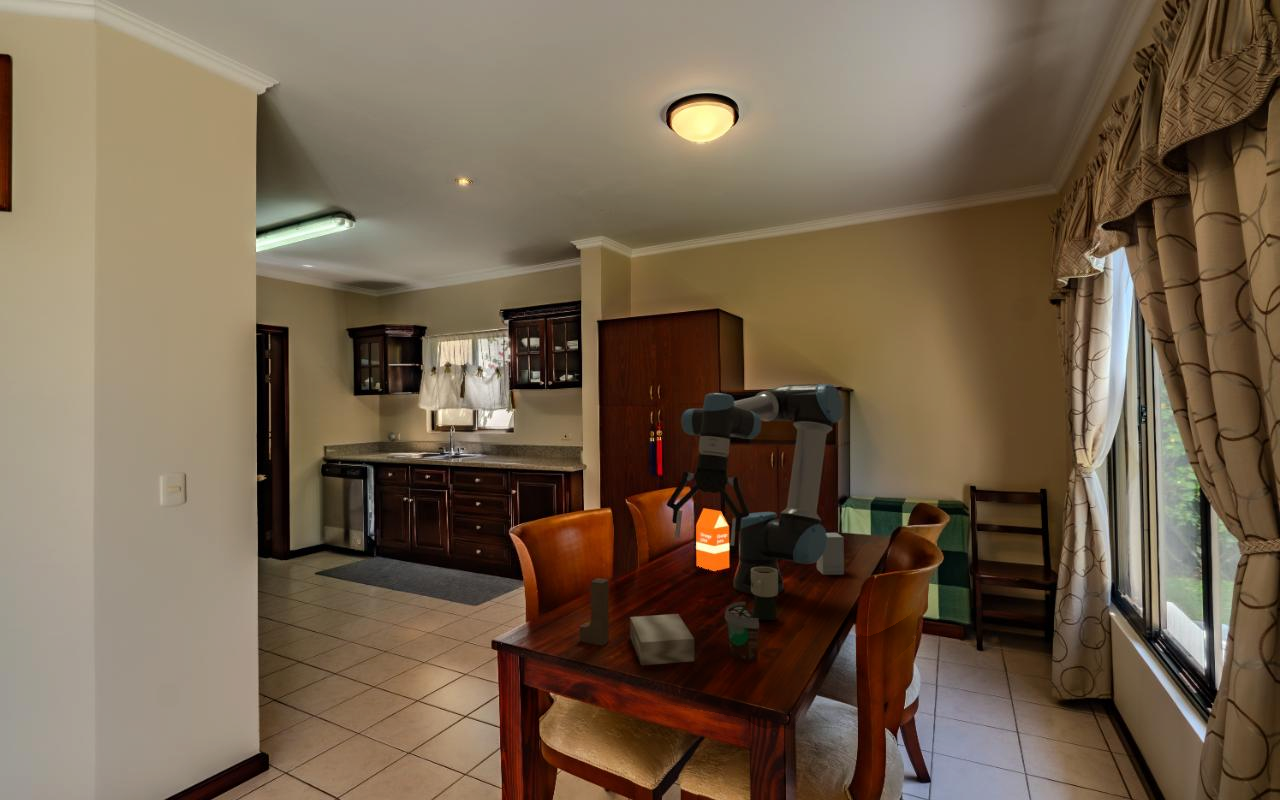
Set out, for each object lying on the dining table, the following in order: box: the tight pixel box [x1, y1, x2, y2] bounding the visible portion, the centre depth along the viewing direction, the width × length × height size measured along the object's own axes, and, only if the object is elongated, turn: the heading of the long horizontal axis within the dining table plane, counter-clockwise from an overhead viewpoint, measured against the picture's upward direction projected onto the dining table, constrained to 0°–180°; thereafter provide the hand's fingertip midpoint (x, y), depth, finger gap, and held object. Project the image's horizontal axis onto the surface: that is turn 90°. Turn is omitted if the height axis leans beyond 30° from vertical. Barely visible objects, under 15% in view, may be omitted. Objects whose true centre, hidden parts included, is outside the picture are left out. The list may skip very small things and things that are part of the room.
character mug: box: [751, 567, 779, 622], centre depth 160 cm, size 11×7×13 cm, turn 151°
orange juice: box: [695, 508, 730, 572], centre depth 211 cm, size 8×9×20 cm
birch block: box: [629, 613, 695, 666], centre depth 141 cm, size 12×16×5 cm
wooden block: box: [578, 577, 610, 647], centre depth 145 cm, size 7×3×15 cm, turn 64°
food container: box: [724, 601, 760, 663], centre depth 138 cm, size 12×6×10 cm, turn 5°
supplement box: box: [816, 532, 845, 576], centre depth 203 cm, size 7×7×13 cm
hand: (704, 541), depth 147 cm, fingers open, 13 cm apart
